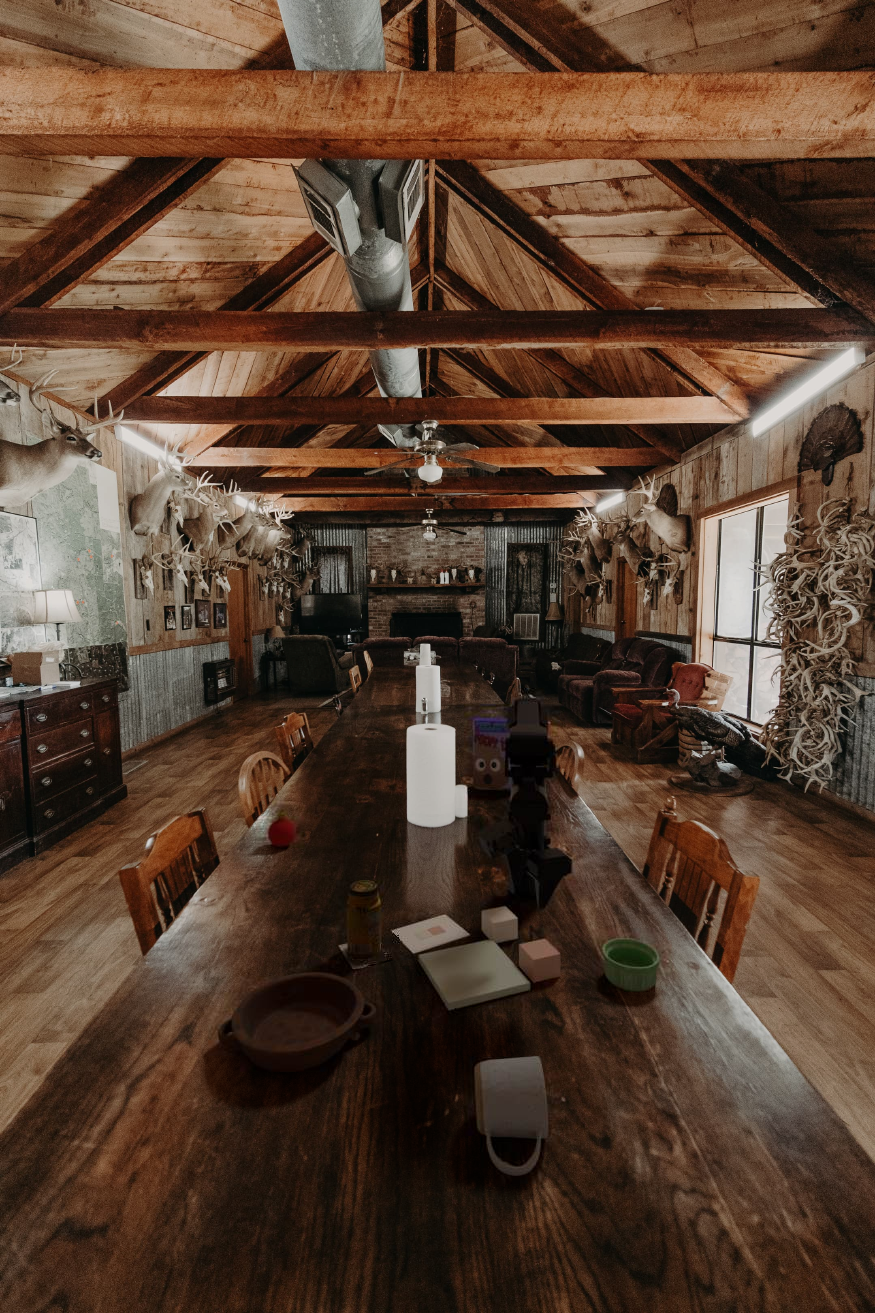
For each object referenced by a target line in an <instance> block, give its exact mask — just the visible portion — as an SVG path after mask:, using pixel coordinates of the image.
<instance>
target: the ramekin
mask: <svg viewBox="0 0 875 1313" xmlns="http://www.w3.org/2000/svg"><path fill="white" fill-rule="evenodd" d="M602 956H603V963H604V964H603V965H604V974H605V977H606V979H607V980H608V981H609V982H610V983H611V984H612V985H614V986H615V987H617V988H619V989H621V990H625V991H628V992H645V991H647V990H650V989H652V988H653V987H654V986H655V984H656V982H657V973H658V966H659V963H660V955H659V952H658V951H657V950H656V949H655V948H654V947H653V946H651V945H650V944H648V943H647V942H644V941H641V940H638V939H633V938H627V937H626V938H624V937H619V938H613V939H610V940H607V941H606V942H604V944H603V946H602Z"/></svg>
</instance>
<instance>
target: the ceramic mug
mask: <svg viewBox="0 0 875 1313" xmlns="http://www.w3.org/2000/svg"><path fill="white" fill-rule="evenodd" d="M473 1074H474V1089H475V1090H474V1091H475V1092H474V1093H475V1107H476V1108H475V1110H476V1111H475V1112H476V1128H477V1130H478V1132H479V1133H480V1134H481V1135H484V1136H486V1147H487V1151H488V1155H489V1156H490V1159H491V1161H492V1163H493V1164H494V1166H495V1167H496V1168H497V1169H498V1170H500V1172H502V1173H504V1174H505V1175H508V1176H512V1177H513V1176H514V1177H515V1176H518V1177H519V1176H523V1175H526V1174H528V1173H529V1172H531V1171H532V1170H533V1169H534V1167H535V1166H536V1165H537V1161H538V1160H539V1157H540V1152H541V1144H542V1139H547V1138H548V1135H549V1115H548V1114H549V1113H548V1111H549V1110H548V1102H547V1100H548V1099H547V1093H546V1084H545V1077H544V1076H545V1075H544V1071H543V1065H542V1061H541V1058H540V1057H539V1056H537V1055H536V1056H535V1055H534V1056H525V1057H524V1056H522V1057H511V1058H510V1057H509V1058H499V1059H488V1060H485V1061H480V1062H478V1063H477V1064H476V1065H475V1067H474V1072H473ZM492 1137H495V1138H519V1139H520V1138H522V1139H536V1145H535V1148H534V1151H533V1153H532V1155H531V1156H530V1157H529V1159H527V1161H526V1162H525V1163H524V1164H523V1165H518V1166H517V1165H515V1166H514V1165H512V1164H510V1163H509V1162H508V1161H503V1160H502V1159H501V1158H500V1157H498V1155H496V1152H495V1150H494V1148H493V1145H492V1139H491V1138H492Z"/></svg>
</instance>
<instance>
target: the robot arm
mask: <svg viewBox="0 0 875 1313" xmlns="http://www.w3.org/2000/svg"><path fill="white" fill-rule="evenodd" d="M506 719H507V733H510V737H506V739H505V777H511V791H510V799H509V808H506V811H505V812H504V819H503V820H501V821H497V822H495V823H492V824H491V825H489V826H487V827H485V828H483V829H481V830H480V831H478V832H477V837H478V839H479V842H480V845H481V847H482V850H483V852H484V853H485V854H487V855H488V856H489V858H491V859H498V858H499V857H501V856H502V855H503V856H504V860H505V863H506V865H507V866H506V867H507V869H508V886H507V890H508V891H509V892H510V893H511V894H512V895H513V896H515V897H516V899H518V900H519V901H521V902H523V901H530V900H534V899H536V904H537V908H538V910H545V909H546V907H547V906H548V904H549V902H550V900H551V898H552V896H553V894H554V892H555V891H556V889H557V887H558V885H559V884H560V883H561V880H562V879H563V878H564V877H567V876H568V875H571V874H572V873H573V867H574V865H573V862H574V861H573V860H574V859H572V858H571V857H570V856H569V855H568V854H566V852H565V853H564V852H563V851H562V850H560V849H559V848H558V847H552V848H551V847H550V846H549V845H551V840H552V839H551V837H549V836H548V835H546V834H547V832H546V826H547V822H546V821H551V819H552V817H551V812H549V802H548V795H547V794H548V793H547V790H546V789H547V779H553V778H554V772H557V754H556V753H557V750H556V744H555V743H554V740H553V739H552V738H551V737H548V736H549V735H548V734H549V709H548V708H547V707H545V706H544V705H543V704H541V698H538V697H517V698H515V699H514V703H513V704H511V706H510V707H508V708H507V709H506ZM509 758H510V765H518V766H511V770H508V765H509ZM547 766H548V768H547Z"/></svg>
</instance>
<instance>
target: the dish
mask: <svg viewBox="0 0 875 1313" xmlns="http://www.w3.org/2000/svg"><path fill="white" fill-rule="evenodd" d="M376 1018H377V1009H376V1006H375V1005H373V1004H372V1003H370V1002H367V1001H365V997H364V995H363V993H362V992H361V991H360V990H359V988H358V987H357V986H356V985H355V984H354V983H352V982H351V981H350V980H348V979H346V978H344V977H341V976H339V975H336V974H333V973H327V972H322V971H321V972H315V971H313V972H302V973H301V972H299V973H295V974H294V973H293V974H289V975H286V976H281V977H278V978H274V979H272V980H270V981H268V982H265V983H264V984H261V985H260V986H257V987H256V988H254V989H253V990H251V991H250V992H249V993H247V994H246V995H245V997H243V999H241V1001H240V1002H239V1004H238V1005H237V1006H236V1009H234V1011H233V1014H232V1015H231V1018H229V1019H227V1021H224V1022H223V1023H222V1024H221V1025H220V1026H219V1028H218V1030H217V1036H218V1037H217V1038H218V1042H219V1044H220V1045H221V1047H222V1048H225V1050H232V1051H236V1052H237V1051H238V1052H243V1053H244V1054H245V1055H246V1056H247V1058H249V1060H251V1062H252V1063H254V1064H255V1065H257V1066H258V1067H260V1068H262V1069H263V1070H264V1069H265V1070H268V1071H272V1072H275V1073H276V1072H277V1073H295V1072H301V1071H306V1070H309V1069H312V1068H315V1067H318V1066H320V1065H321V1064H323V1063H325V1062H327V1061H328V1060H330V1058H332V1057H333V1056H336V1054H337V1053H339V1052H340V1051H341V1049H342V1048H343V1047H344V1046H345V1045H346V1043H347V1042H348V1041H349V1039H350V1038H351V1036H352V1035H353V1034H354V1033H356V1032H358V1031H362V1030H364V1029H367V1028H369V1027H371V1026H373V1025H374V1023H375V1022H376V1020H377V1019H376ZM230 1033H233V1035H228V1034H230Z"/></svg>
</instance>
